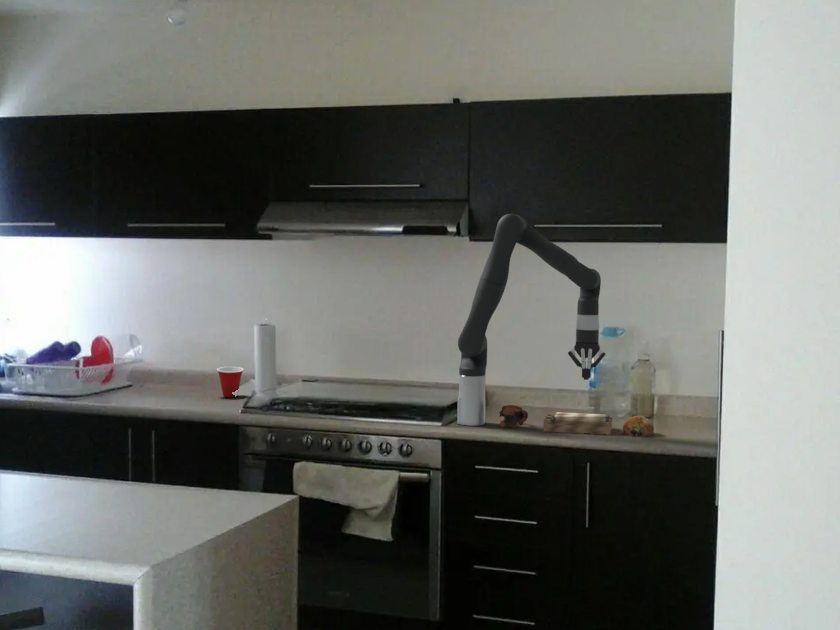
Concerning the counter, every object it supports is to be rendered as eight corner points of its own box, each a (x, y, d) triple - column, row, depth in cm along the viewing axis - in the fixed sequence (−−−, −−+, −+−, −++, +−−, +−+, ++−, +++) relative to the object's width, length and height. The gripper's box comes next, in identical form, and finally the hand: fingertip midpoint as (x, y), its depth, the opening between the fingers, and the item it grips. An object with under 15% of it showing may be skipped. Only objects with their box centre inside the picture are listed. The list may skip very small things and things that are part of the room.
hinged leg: (549, 423, 309) (549, 416, 309) (551, 421, 312) (550, 414, 312) (609, 423, 304) (608, 416, 304) (609, 421, 307) (609, 414, 307)
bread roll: (656, 445, 303) (662, 423, 305) (640, 436, 297) (647, 413, 299) (630, 441, 311) (636, 419, 312) (615, 432, 304) (621, 409, 306)
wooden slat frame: (543, 431, 308) (543, 416, 308) (547, 424, 320) (547, 410, 319) (610, 434, 303) (610, 420, 302) (611, 428, 314) (612, 414, 314)
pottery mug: (492, 427, 317) (494, 405, 320) (508, 436, 323) (510, 414, 326) (520, 423, 309) (522, 400, 313) (536, 432, 315) (538, 409, 319)
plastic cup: (220, 399, 371) (220, 370, 371) (214, 395, 381) (214, 367, 380) (246, 398, 376) (246, 369, 375) (240, 394, 386) (240, 366, 385)
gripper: (566, 328, 305) (565, 380, 306) (606, 329, 301) (605, 381, 302) (568, 326, 312) (567, 377, 313) (608, 327, 308) (606, 379, 310)
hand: (586, 379), depth 308 cm, fingers closed
